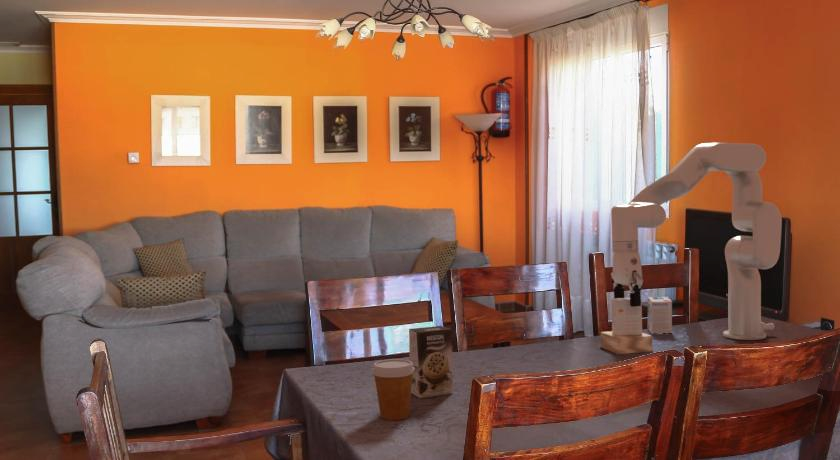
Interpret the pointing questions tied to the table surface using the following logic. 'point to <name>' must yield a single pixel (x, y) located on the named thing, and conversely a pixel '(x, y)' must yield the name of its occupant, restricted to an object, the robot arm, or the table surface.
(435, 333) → the cookie box
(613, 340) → the oak block
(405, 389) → the disposable coffee cup
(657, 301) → the light bulb box
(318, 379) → the table surface
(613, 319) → the small box
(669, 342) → the table surface
